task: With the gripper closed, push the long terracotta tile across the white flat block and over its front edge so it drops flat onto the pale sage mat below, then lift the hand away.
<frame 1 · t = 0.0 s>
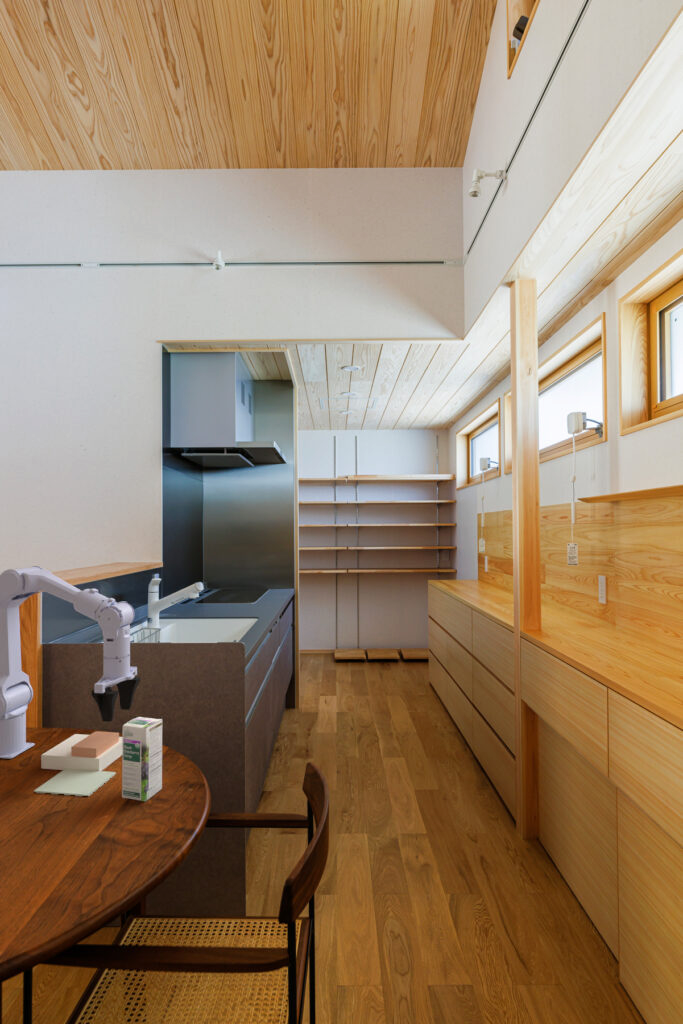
hand: (116, 714, 129), 10 cm above the table, tool pointing down, fingers open, 7 cm apart
white flat block: (86, 758, 129), on the table
syrup box: (142, 794, 113), on the table
tile: (95, 748, 127), point 3 cm above the table, touching white flat block
mat: (76, 782, 117), on the table
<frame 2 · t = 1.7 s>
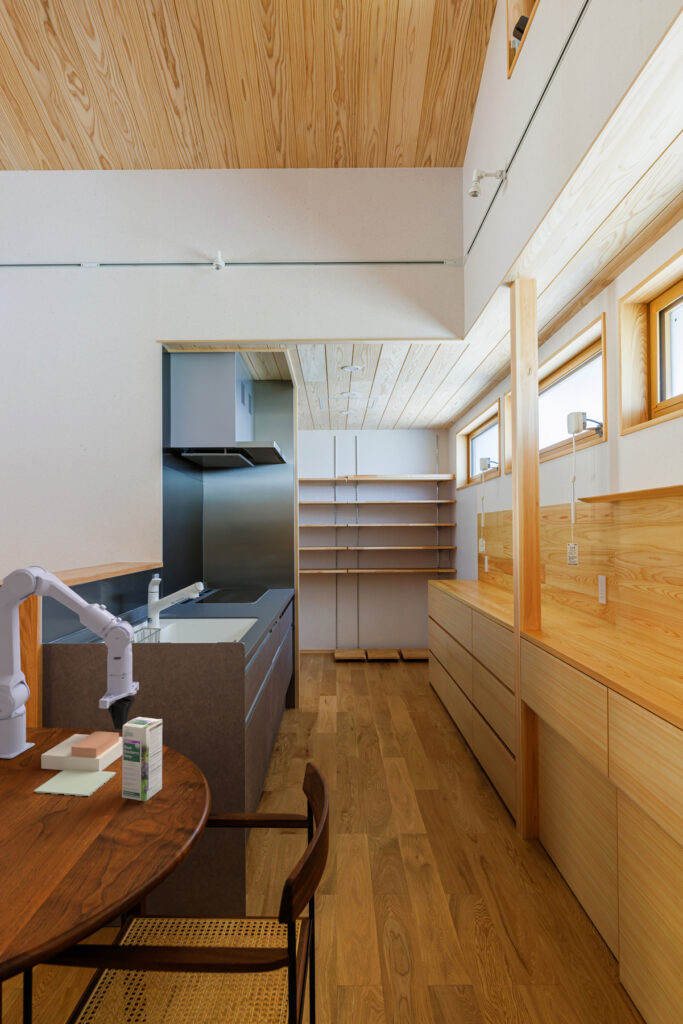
hand: (120, 728, 137), 4 cm above the table, tool pointing down, fingers closed
nothing on the table moved.
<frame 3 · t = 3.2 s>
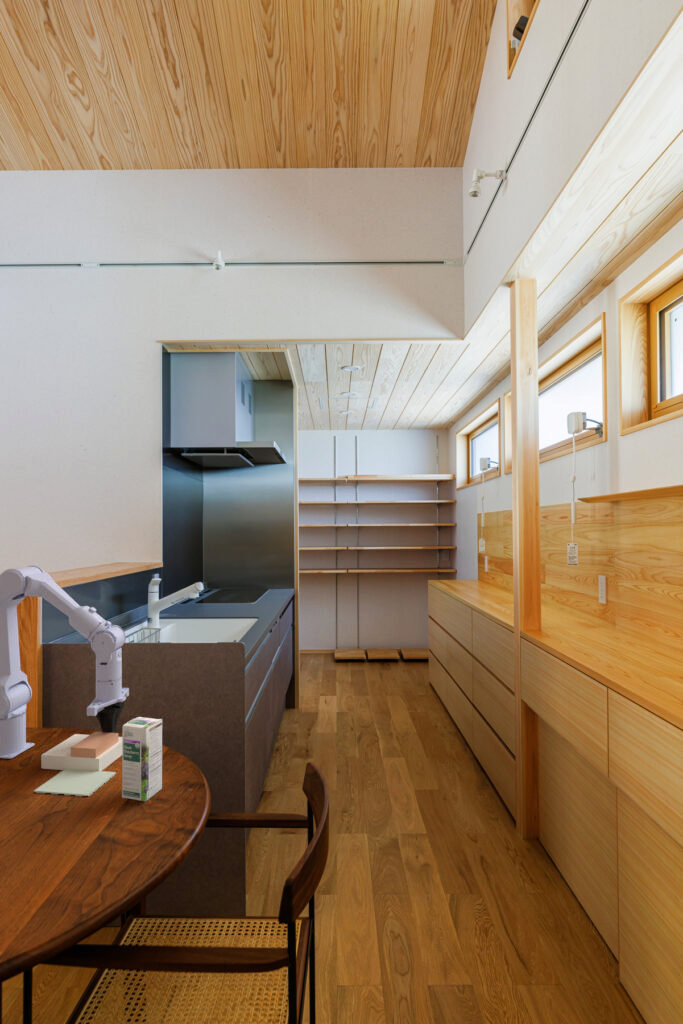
hand: (109, 735, 132), 4 cm above the table, tool pointing down, fingers closed
tile: (95, 748, 127), point 3 cm above the table, touching gripper
everything else where it was.
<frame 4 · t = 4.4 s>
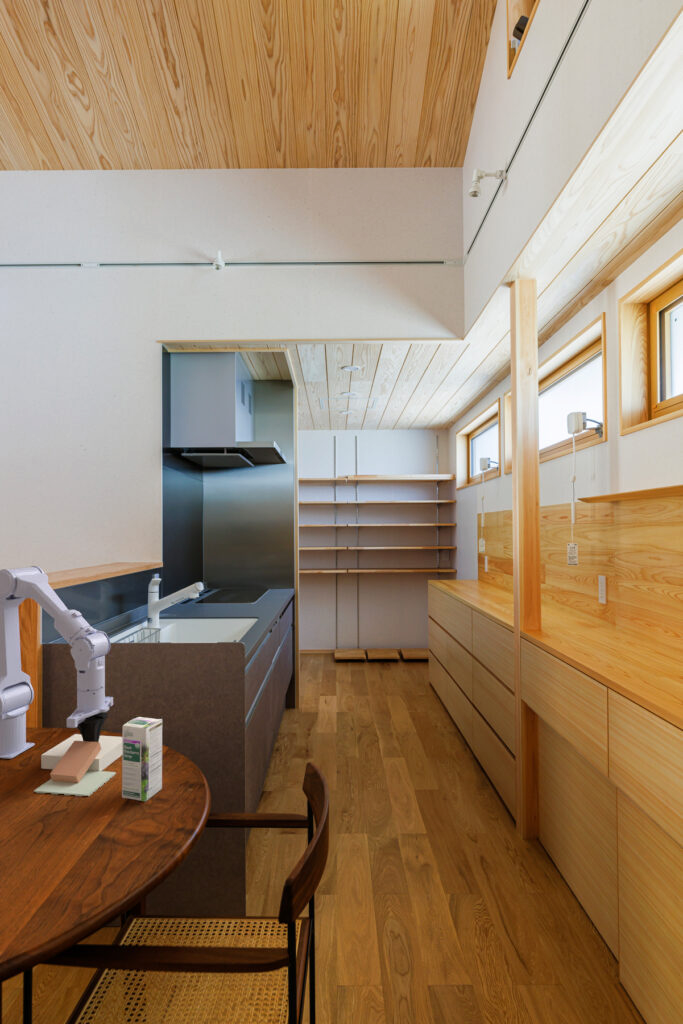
hand: (91, 748, 126), 4 cm above the table, tool pointing down, fingers closed
tile: (77, 764, 121), point 2 cm above the table, tilted 25°, touching gripper, mat
everything else where it was.
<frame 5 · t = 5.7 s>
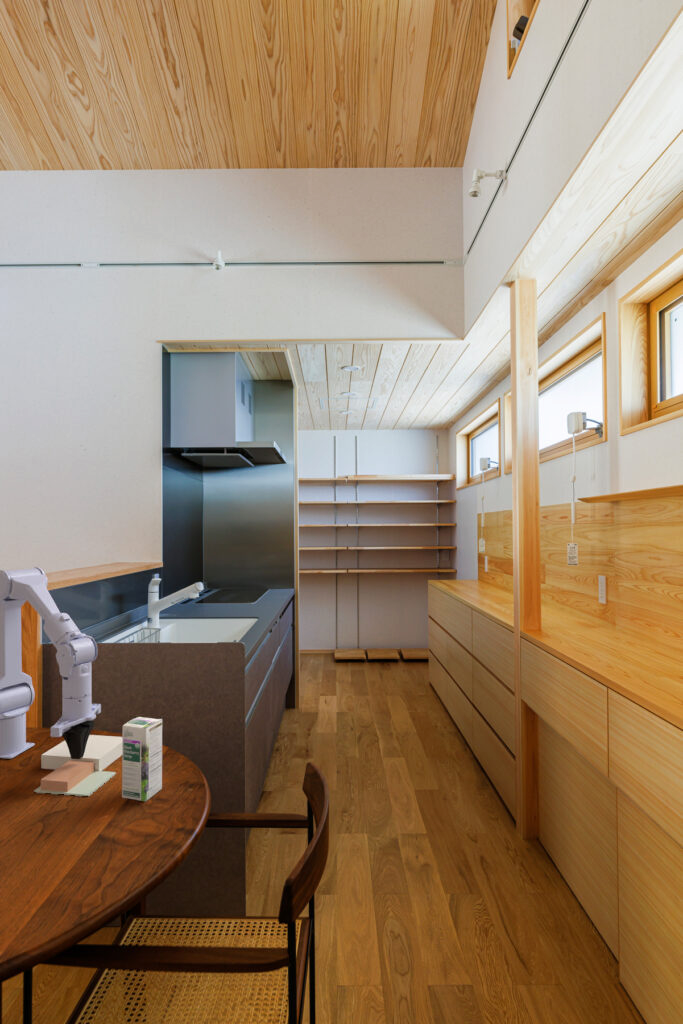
hand: (77, 757, 121), 4 cm above the table, tool pointing down, fingers closed
tile: (68, 780, 117), resting on mat
everything else where it was.
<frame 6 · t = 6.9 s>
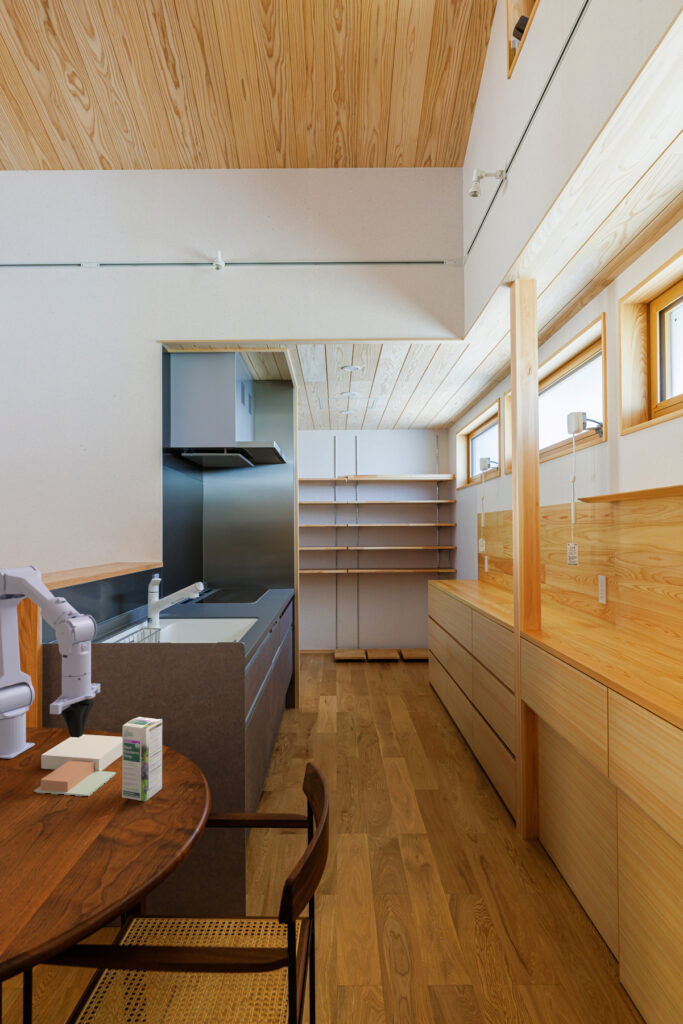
hand: (76, 736, 120), 9 cm above the table, tool pointing down, fingers closed
nothing on the table moved.
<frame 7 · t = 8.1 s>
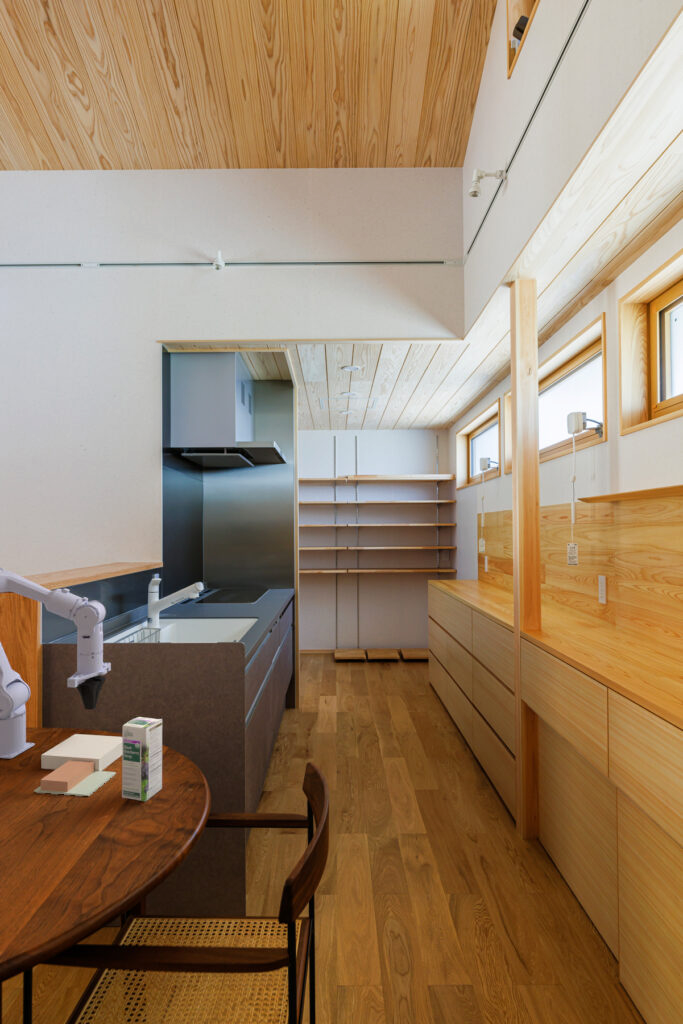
hand: (90, 708, 135), 9 cm above the table, tool pointing down, fingers closed
nothing on the table moved.
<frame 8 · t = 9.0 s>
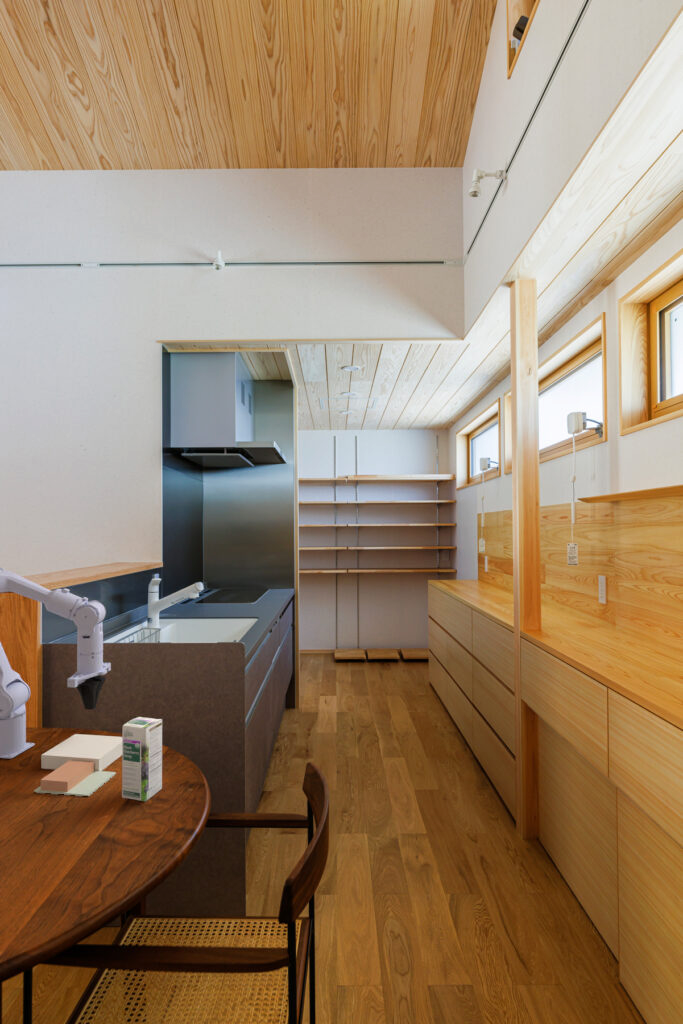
hand: (90, 708, 135), 9 cm above the table, tool pointing down, fingers closed
nothing on the table moved.
at the end: tile inside the target area on the mat (1.9 cm from its centre), point 0.4 cm above the mat's base; tile tilted 0° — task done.
